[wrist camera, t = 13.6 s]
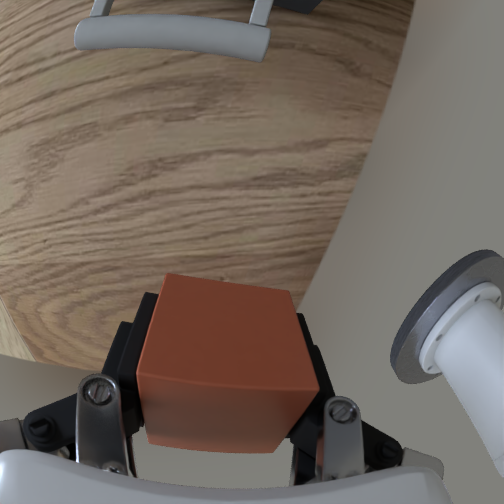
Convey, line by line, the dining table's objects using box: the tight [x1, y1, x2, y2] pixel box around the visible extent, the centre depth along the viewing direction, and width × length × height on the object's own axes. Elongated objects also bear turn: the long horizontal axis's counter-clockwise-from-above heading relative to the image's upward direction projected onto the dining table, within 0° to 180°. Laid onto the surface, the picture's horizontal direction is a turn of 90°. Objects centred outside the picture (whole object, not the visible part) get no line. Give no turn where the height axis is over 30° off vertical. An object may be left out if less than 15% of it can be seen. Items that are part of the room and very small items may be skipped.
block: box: [136, 273, 319, 453], centre depth 9 cm, size 5×5×5 cm
